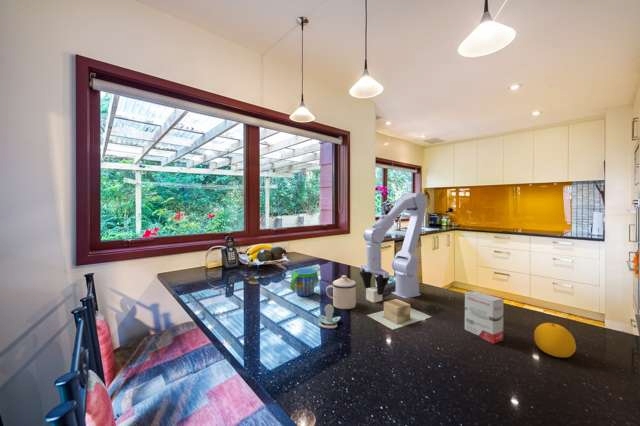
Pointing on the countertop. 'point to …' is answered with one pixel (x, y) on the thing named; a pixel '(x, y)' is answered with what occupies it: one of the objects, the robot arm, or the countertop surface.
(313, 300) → the countertop surface
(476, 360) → the countertop surface
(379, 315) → the plate
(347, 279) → the teacup with lid
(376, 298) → the cream block
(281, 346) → the countertop surface
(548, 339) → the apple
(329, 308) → the pacifier
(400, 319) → the oak block
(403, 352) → the countertop surface
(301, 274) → the snack cup
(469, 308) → the ink box
